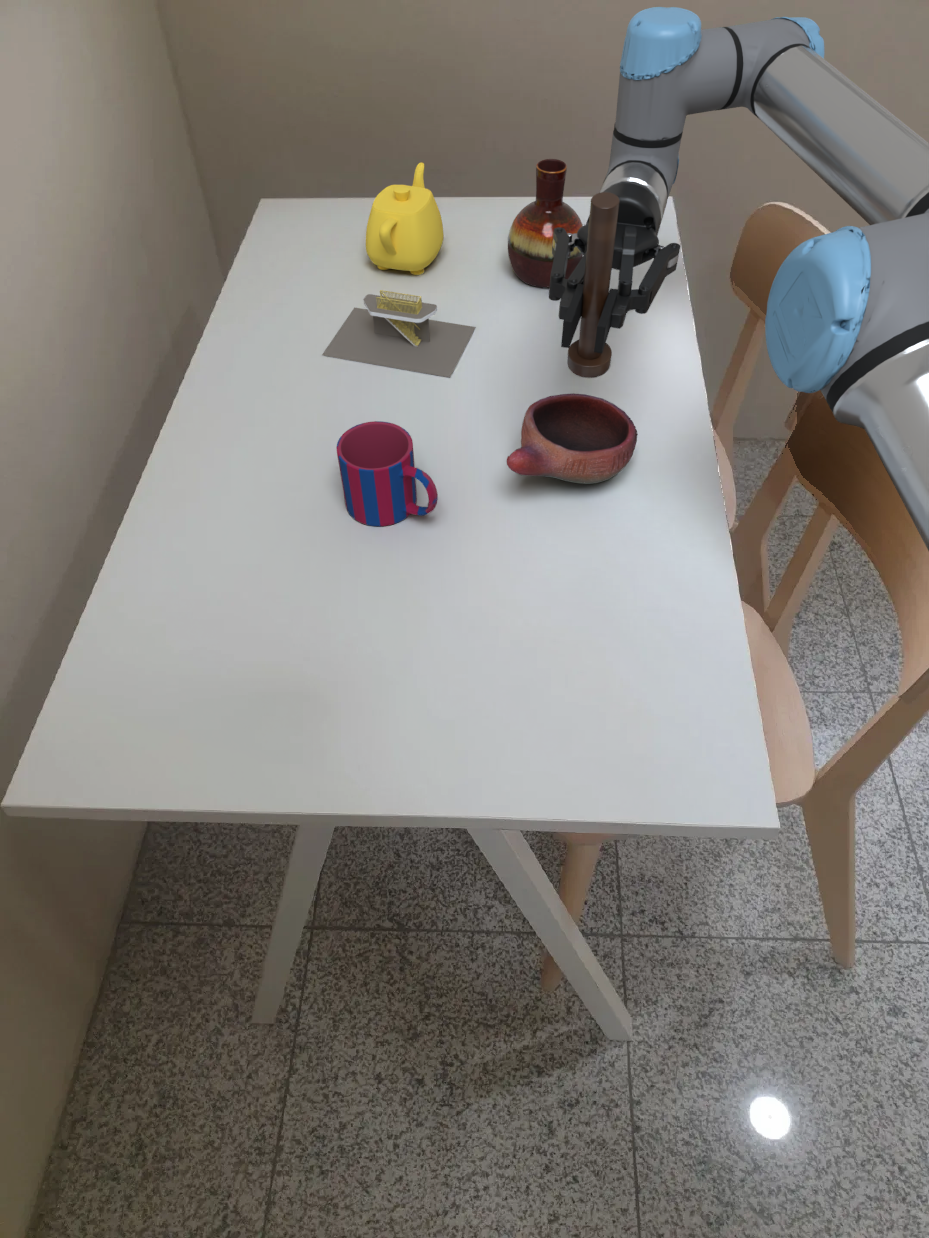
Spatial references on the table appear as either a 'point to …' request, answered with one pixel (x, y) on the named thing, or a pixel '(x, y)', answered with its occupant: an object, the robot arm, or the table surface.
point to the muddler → (595, 287)
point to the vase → (543, 227)
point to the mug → (381, 474)
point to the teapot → (404, 227)
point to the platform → (400, 336)
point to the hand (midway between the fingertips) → (583, 337)
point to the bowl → (574, 439)
